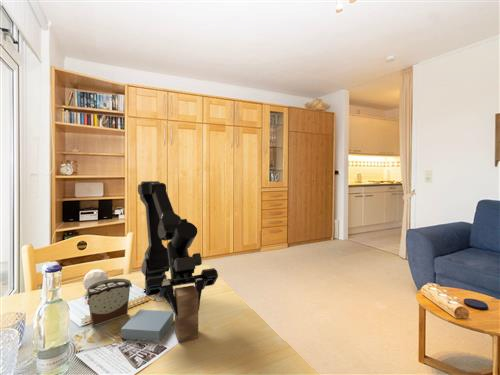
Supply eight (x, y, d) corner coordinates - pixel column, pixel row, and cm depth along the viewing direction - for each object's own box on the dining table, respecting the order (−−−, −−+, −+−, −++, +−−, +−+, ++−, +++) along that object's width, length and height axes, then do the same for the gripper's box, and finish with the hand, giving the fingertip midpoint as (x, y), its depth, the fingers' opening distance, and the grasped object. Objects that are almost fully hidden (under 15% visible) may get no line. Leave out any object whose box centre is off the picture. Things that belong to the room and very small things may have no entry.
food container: (124, 305, 88) (124, 274, 88) (132, 312, 84) (132, 280, 83) (80, 319, 80) (79, 285, 79) (86, 328, 75) (85, 292, 75)
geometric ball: (92, 301, 97) (76, 288, 92) (93, 285, 103) (79, 272, 99) (112, 289, 98) (98, 275, 94) (112, 274, 105) (99, 260, 100)
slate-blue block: (121, 340, 71) (121, 328, 71) (140, 319, 81) (139, 309, 81) (159, 342, 70) (159, 331, 70) (173, 321, 80) (173, 311, 80)
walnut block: (178, 343, 69) (178, 296, 69) (174, 332, 74) (174, 288, 73) (198, 338, 71) (198, 292, 71) (193, 328, 76) (193, 285, 75)
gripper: (146, 247, 71) (151, 308, 62) (216, 240, 79) (230, 293, 69) (143, 267, 78) (148, 325, 69) (208, 259, 86) (219, 310, 77)
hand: (187, 313), depth 71 cm, fingers closed on walnut block, 5 cm apart
